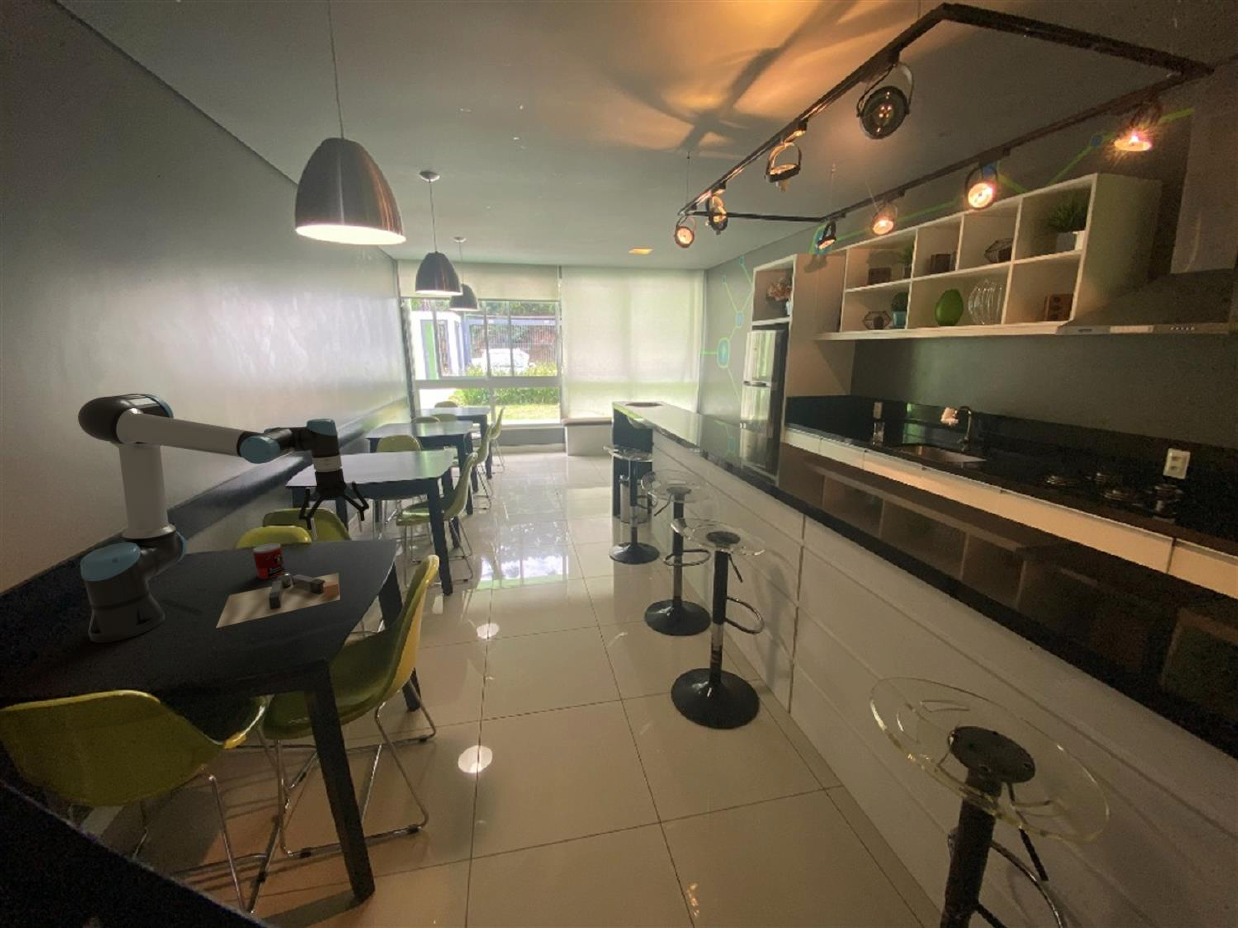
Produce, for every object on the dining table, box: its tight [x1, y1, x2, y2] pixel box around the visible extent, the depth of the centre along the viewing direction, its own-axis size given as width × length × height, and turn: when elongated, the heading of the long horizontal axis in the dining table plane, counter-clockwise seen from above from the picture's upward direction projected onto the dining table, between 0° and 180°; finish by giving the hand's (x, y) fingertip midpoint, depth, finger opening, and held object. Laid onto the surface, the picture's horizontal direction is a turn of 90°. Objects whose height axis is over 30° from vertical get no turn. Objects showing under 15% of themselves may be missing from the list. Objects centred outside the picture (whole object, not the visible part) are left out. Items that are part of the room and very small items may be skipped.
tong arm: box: [291, 573, 325, 595], centre depth 156 cm, size 13×2×4 cm, turn 65°
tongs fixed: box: [269, 571, 293, 609], centre depth 152 cm, size 18×5×4 cm, turn 30°
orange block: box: [323, 580, 341, 597], centre depth 153 cm, size 4×3×4 cm
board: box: [215, 572, 341, 629], centre depth 151 cm, size 30×22×1 cm
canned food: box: [252, 542, 286, 580], centre depth 167 cm, size 8×8×11 cm
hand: (338, 534), depth 155 cm, fingers open, 12 cm apart
